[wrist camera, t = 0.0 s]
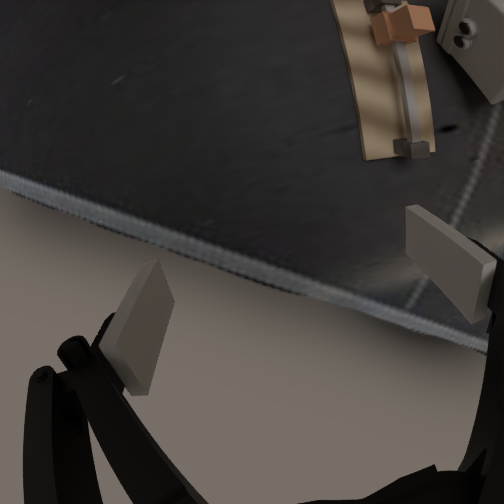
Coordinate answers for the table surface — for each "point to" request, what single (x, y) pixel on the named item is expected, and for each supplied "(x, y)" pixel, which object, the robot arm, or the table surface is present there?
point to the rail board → (385, 84)
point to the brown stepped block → (402, 25)
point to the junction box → (477, 42)
